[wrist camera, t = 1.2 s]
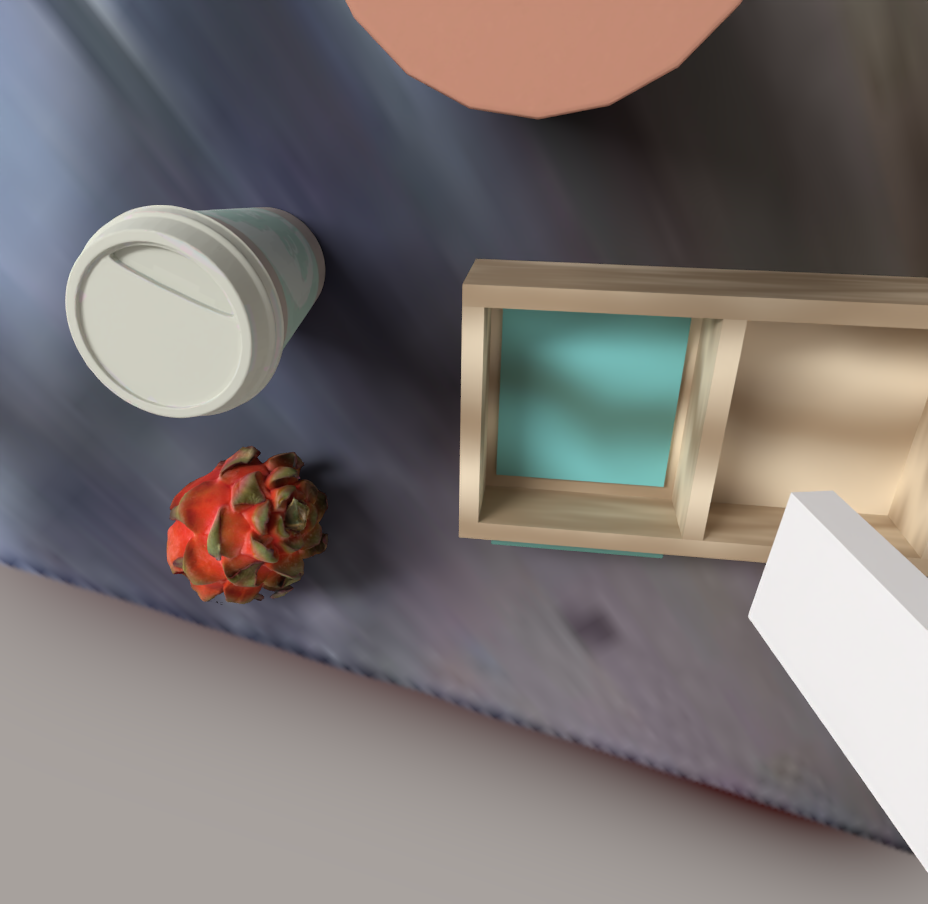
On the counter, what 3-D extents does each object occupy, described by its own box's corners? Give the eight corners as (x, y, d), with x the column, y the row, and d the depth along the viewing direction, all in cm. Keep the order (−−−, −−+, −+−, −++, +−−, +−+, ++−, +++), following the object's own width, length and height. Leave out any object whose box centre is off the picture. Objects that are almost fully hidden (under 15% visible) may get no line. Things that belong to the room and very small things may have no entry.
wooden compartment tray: (476, 258, 36) (462, 284, 31) (1236, 290, 32) (1355, 324, 27) (470, 494, 42) (458, 546, 37) (1105, 543, 39) (1184, 608, 34)
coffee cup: (382, 291, 37) (310, 368, 27) (263, 367, 40) (155, 464, 30) (283, 143, 35) (160, 163, 24) (163, 235, 38) (5, 290, 27)
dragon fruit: (346, 428, 43) (255, 526, 50) (213, 393, 38) (129, 509, 44) (373, 550, 39) (268, 640, 45) (226, 531, 33) (130, 638, 40)
